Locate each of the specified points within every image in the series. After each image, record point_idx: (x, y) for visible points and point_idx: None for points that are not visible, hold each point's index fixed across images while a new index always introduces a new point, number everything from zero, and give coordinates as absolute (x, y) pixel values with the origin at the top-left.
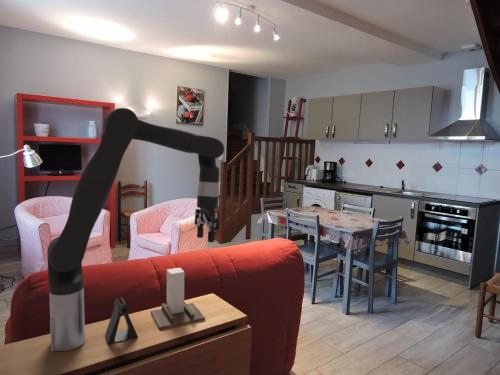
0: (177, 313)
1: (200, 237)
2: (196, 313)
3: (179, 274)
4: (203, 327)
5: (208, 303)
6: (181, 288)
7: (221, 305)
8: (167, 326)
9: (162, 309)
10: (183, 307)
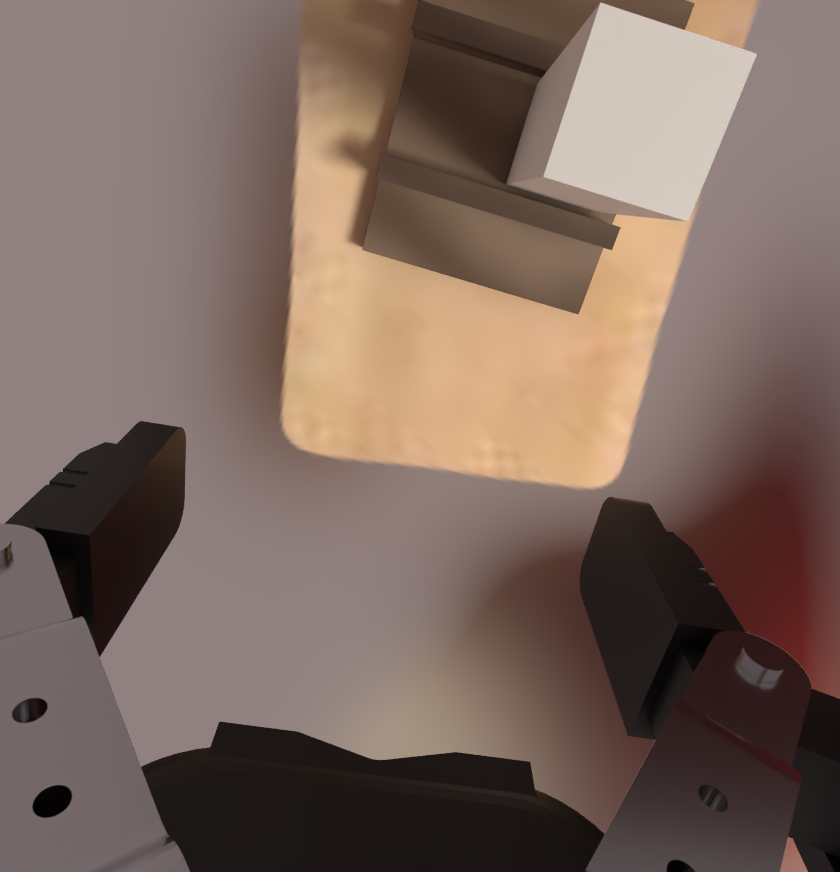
0: None
1: (593, 541)
2: (439, 240)
3: (560, 121)
4: (297, 185)
5: (526, 401)
6: (531, 154)
7: (450, 441)
8: None
9: None
10: (509, 179)
